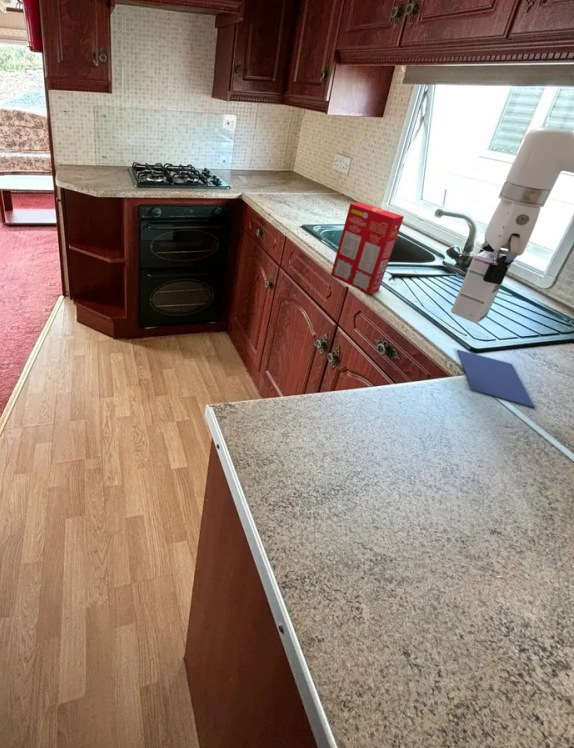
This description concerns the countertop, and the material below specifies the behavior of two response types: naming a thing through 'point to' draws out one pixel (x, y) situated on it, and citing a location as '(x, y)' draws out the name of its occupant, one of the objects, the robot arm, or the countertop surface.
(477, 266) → the syrup box
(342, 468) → the countertop surface
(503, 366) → the cloth
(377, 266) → the food packaging
